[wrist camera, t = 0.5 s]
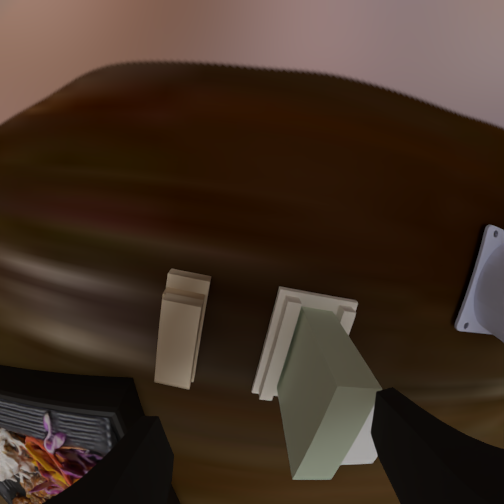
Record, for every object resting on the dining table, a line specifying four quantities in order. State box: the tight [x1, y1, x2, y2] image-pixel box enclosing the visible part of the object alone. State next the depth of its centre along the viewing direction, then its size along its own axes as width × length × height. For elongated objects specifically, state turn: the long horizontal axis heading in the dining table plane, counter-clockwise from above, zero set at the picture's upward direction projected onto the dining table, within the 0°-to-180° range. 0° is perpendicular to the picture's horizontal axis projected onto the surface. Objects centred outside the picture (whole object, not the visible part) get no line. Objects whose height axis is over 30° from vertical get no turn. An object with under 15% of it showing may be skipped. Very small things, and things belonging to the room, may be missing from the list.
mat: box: [340, 404, 378, 465], centre depth 22 cm, size 8×8×1 cm
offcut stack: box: [155, 268, 211, 389], centre depth 18 cm, size 2×7×3 cm, turn 168°
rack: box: [252, 286, 358, 401], centre depth 19 cm, size 5×8×2 cm, turn 168°
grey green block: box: [277, 306, 382, 480], centre depth 16 cm, size 2×6×8 cm, turn 168°
